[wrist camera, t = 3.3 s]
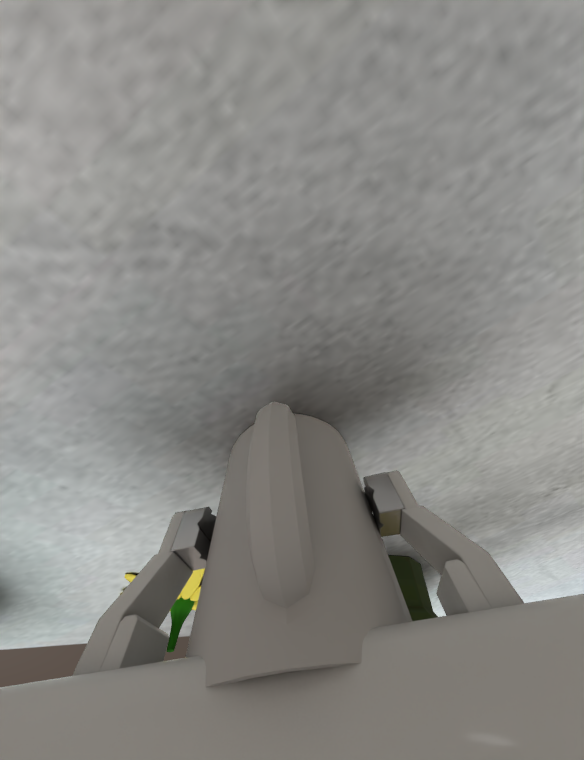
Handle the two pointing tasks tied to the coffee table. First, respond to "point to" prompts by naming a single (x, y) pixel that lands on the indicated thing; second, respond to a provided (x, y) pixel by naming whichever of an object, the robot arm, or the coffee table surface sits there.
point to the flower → (181, 604)
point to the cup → (291, 557)
